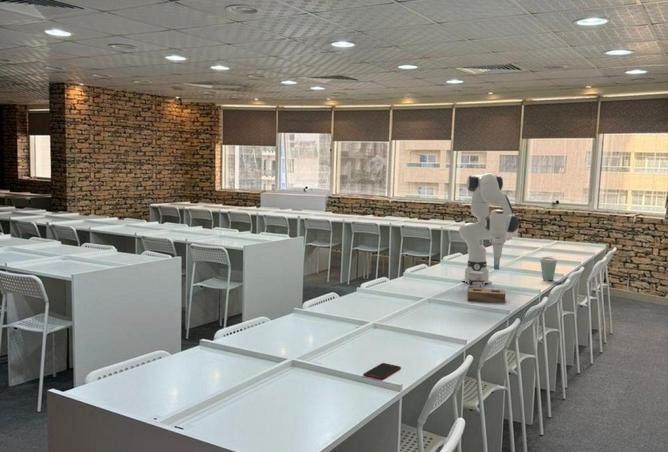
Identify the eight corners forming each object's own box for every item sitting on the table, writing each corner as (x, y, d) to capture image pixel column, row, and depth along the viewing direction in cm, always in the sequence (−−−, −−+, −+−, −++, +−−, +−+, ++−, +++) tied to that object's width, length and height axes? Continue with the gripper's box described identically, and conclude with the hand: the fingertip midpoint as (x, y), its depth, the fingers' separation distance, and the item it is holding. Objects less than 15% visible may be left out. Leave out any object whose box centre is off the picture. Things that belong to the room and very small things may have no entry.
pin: (493, 268, 318) (494, 254, 317) (499, 269, 317) (499, 254, 317) (493, 269, 315) (494, 255, 314) (499, 269, 314) (499, 255, 314)
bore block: (468, 296, 327) (468, 287, 327) (504, 298, 322) (504, 289, 322) (467, 300, 316) (467, 291, 315) (505, 303, 311) (505, 294, 310)
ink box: (467, 291, 342) (468, 271, 340) (469, 289, 346) (470, 270, 345) (481, 292, 338) (482, 273, 336) (483, 291, 342) (484, 271, 341)
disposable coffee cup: (559, 281, 378) (560, 258, 377) (546, 282, 374) (547, 259, 373) (548, 278, 388) (549, 256, 387) (535, 279, 384) (536, 257, 383)
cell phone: (362, 376, 196) (362, 374, 196) (382, 365, 208) (382, 362, 208) (382, 381, 192) (382, 378, 192) (401, 369, 204) (401, 366, 204)
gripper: (491, 236, 325) (490, 260, 327) (491, 240, 306) (491, 266, 307) (502, 237, 324) (502, 261, 325) (504, 241, 304) (503, 266, 305)
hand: (496, 263), depth 316 cm, fingers closed on pin, 3 cm apart
